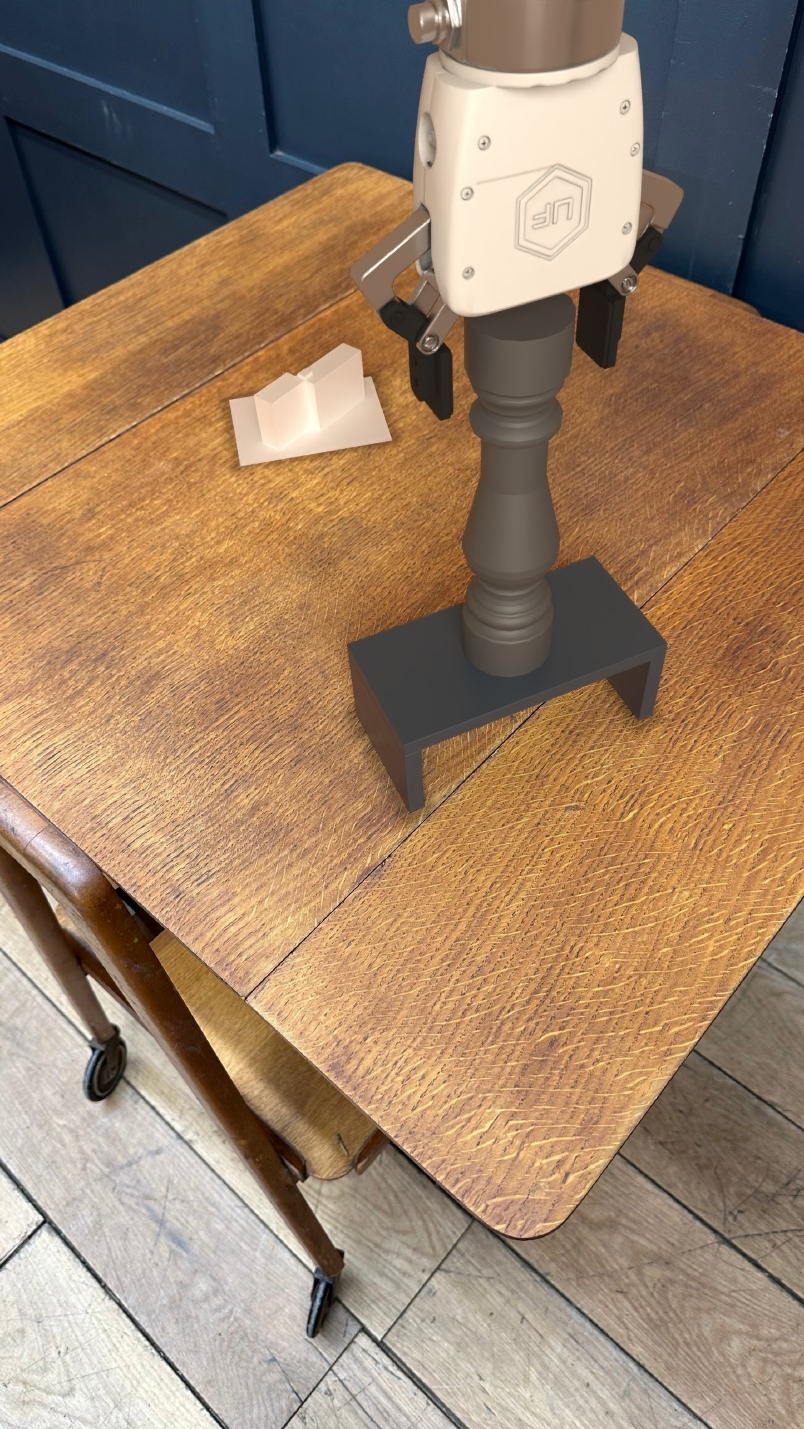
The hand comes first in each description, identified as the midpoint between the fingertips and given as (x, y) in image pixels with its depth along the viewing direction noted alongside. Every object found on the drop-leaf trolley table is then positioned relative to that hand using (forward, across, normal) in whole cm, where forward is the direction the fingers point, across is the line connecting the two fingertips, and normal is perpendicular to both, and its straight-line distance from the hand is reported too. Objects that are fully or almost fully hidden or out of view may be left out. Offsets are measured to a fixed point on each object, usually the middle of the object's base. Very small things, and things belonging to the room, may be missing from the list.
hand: (516, 380), depth 55 cm
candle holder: (+21, 0, 0) cm, 21 cm away
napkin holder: (+29, 0, +42) cm, 51 cm away
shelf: (+29, 0, 0) cm, 29 cm away
